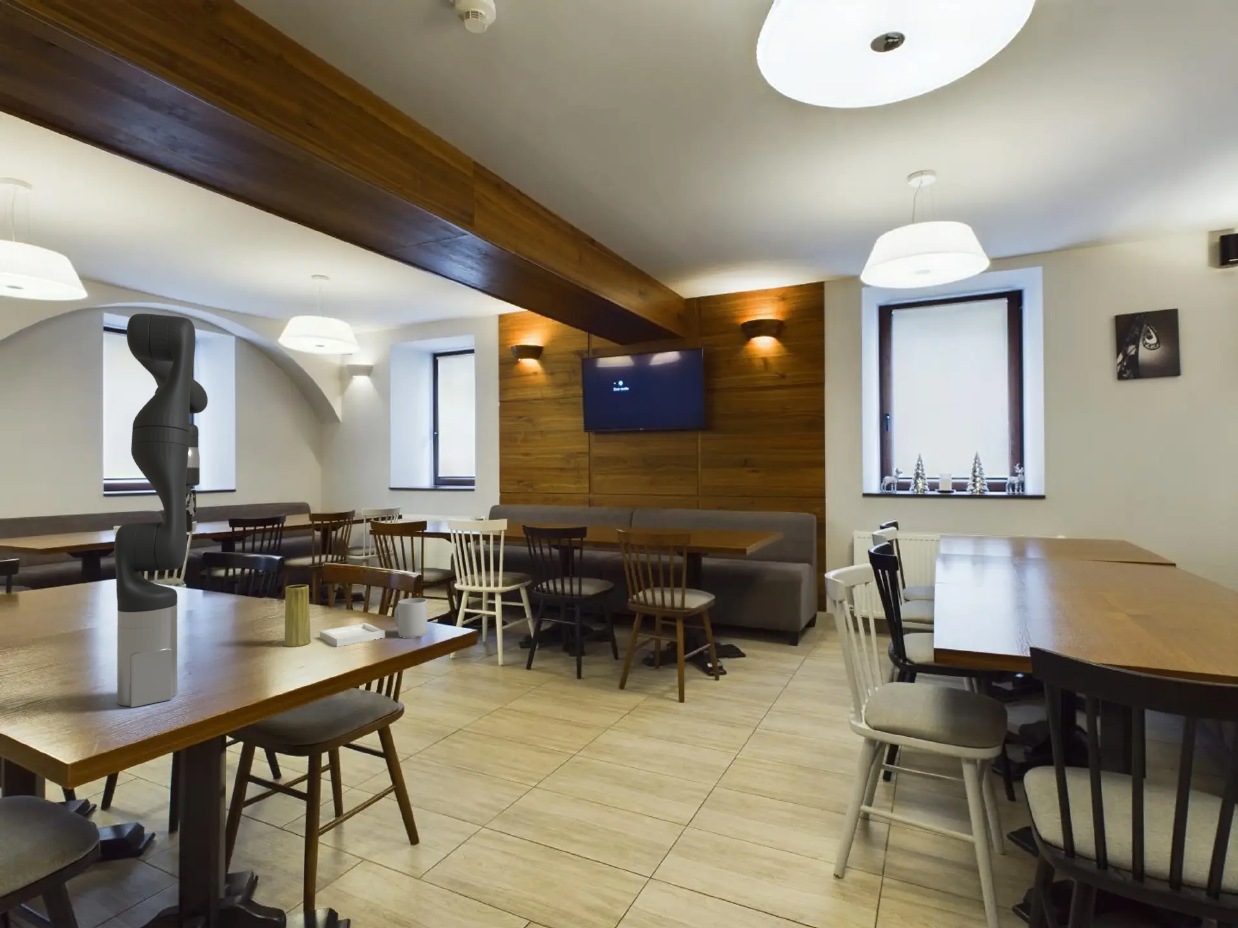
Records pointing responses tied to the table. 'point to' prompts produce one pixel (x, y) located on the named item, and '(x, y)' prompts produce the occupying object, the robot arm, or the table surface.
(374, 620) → the table surface
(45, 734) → the table surface
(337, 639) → the dish
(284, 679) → the table surface
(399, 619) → the cup
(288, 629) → the vase
